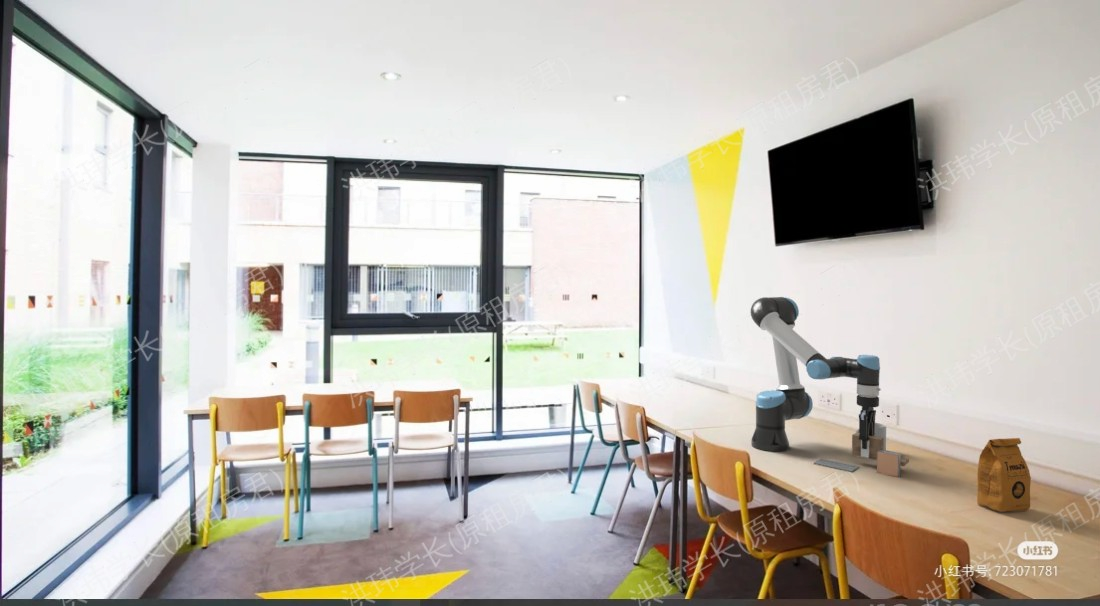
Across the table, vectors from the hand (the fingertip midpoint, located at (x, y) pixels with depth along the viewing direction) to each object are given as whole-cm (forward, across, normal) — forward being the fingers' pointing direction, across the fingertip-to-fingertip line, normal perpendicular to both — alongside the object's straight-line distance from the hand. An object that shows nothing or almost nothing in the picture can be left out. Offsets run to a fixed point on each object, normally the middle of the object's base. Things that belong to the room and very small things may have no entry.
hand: (866, 455), depth 218 cm
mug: (+4, +22, +5) cm, 22 cm away
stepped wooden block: (0, 0, -4) cm, 4 cm away
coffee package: (+4, -17, -43) cm, 47 cm away
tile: (+4, -6, -9) cm, 11 cm away
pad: (+4, -9, +8) cm, 13 cm away
